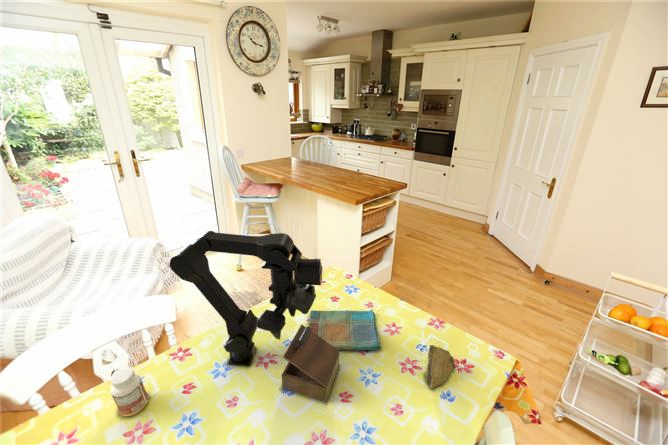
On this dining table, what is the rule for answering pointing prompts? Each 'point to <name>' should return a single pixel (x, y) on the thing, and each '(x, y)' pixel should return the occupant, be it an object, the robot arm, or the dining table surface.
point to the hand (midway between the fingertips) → (285, 326)
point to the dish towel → (346, 329)
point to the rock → (438, 366)
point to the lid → (312, 355)
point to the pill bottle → (128, 391)
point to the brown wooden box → (306, 382)
